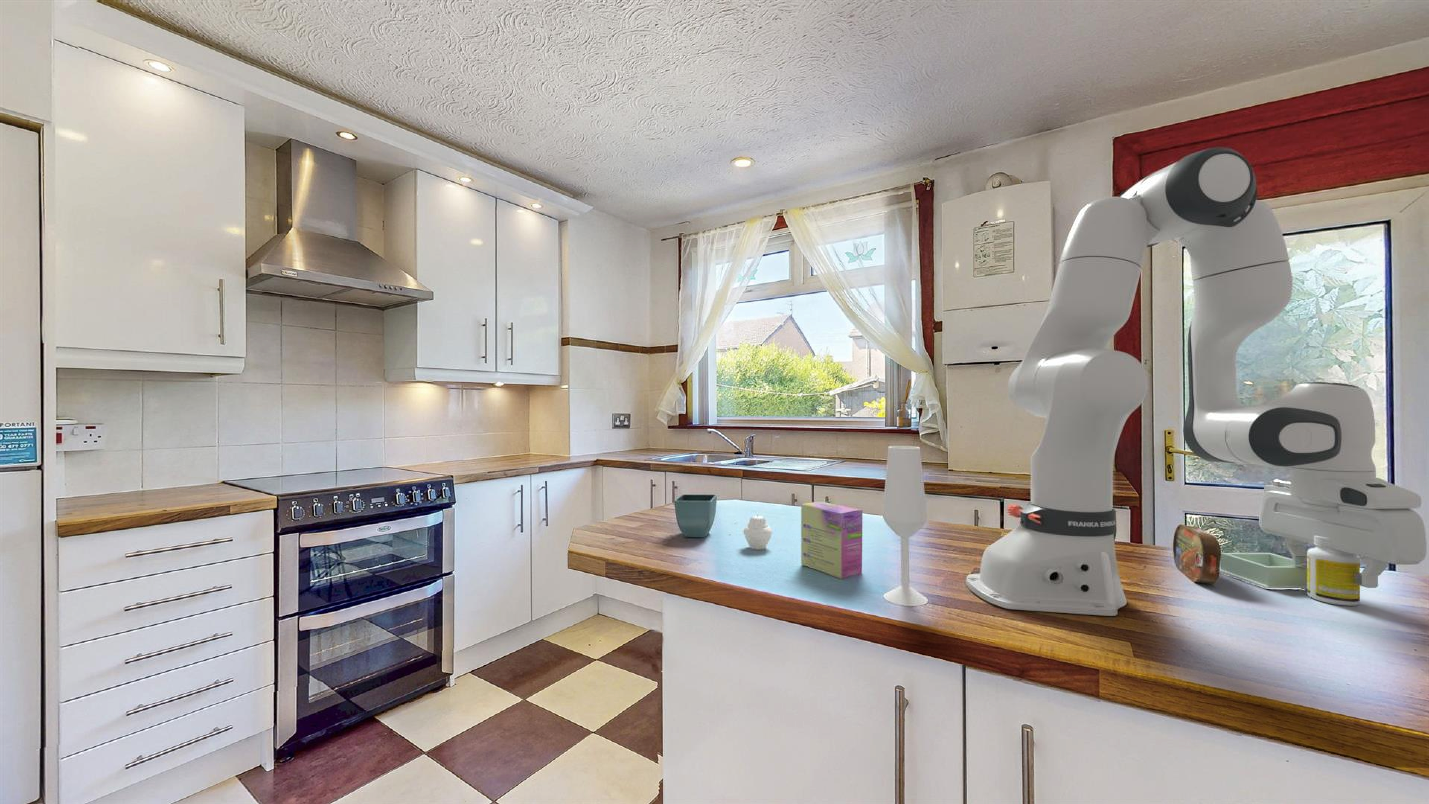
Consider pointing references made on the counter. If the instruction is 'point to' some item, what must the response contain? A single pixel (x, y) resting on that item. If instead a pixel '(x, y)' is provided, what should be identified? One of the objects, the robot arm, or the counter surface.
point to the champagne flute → (904, 512)
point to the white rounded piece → (757, 533)
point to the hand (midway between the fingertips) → (1332, 576)
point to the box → (831, 538)
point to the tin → (1197, 554)
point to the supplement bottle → (1332, 574)
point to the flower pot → (695, 514)
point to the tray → (1263, 570)
